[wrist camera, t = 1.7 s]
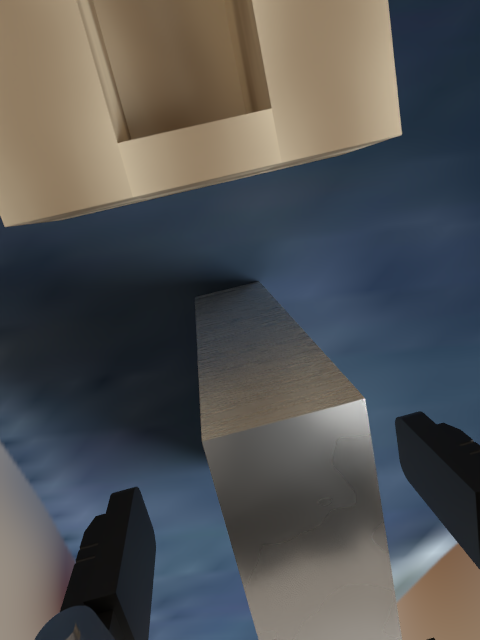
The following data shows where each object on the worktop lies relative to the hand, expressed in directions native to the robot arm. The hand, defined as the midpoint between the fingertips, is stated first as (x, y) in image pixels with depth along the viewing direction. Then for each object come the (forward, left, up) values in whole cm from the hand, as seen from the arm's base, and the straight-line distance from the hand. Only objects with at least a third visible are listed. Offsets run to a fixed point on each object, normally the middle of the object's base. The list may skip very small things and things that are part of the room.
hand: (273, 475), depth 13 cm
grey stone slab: (0, 0, -8) cm, 8 cm away
